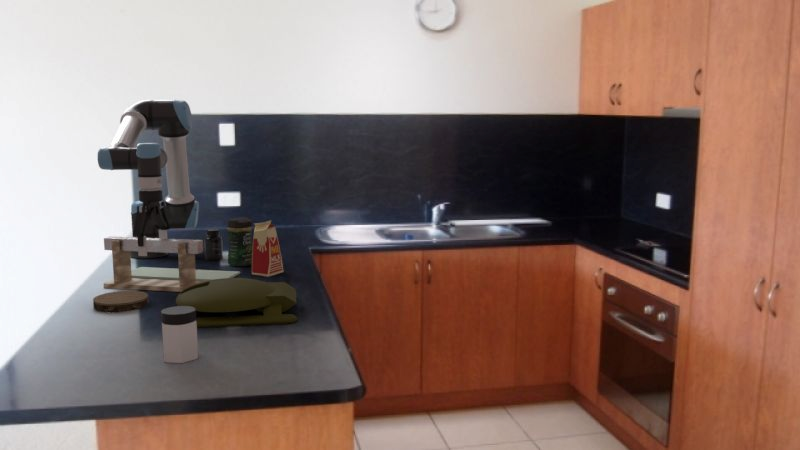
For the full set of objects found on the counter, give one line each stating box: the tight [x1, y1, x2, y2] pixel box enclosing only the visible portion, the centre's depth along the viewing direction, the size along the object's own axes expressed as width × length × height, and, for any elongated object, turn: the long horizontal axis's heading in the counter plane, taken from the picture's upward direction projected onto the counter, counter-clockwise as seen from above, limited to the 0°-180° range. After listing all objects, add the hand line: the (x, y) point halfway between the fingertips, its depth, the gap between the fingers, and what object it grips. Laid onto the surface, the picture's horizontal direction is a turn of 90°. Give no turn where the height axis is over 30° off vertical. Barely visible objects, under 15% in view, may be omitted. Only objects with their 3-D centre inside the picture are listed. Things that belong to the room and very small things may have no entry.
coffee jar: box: [226, 216, 254, 267], centre depth 285 cm, size 10×8×19 cm
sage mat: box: [131, 266, 241, 282], centre depth 267 cm, size 40×14×1 cm, turn 79°
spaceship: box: [175, 277, 298, 328], centre depth 219 cm, size 35×31×10 cm
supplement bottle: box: [204, 228, 224, 262], centre depth 296 cm, size 7×7×12 cm
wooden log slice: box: [92, 290, 150, 313], centre depth 226 cm, size 16×16×3 cm
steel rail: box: [103, 235, 204, 255], centre depth 248 cm, size 34×4×4 cm, turn 79°
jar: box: [160, 305, 199, 364], centre depth 178 cm, size 9×8×12 cm
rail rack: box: [103, 241, 202, 293], centre depth 249 cm, size 33×9×16 cm, turn 79°
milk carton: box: [251, 220, 284, 278], centre depth 270 cm, size 9×9×20 cm
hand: (153, 252), depth 248 cm, fingers open, 13 cm apart
